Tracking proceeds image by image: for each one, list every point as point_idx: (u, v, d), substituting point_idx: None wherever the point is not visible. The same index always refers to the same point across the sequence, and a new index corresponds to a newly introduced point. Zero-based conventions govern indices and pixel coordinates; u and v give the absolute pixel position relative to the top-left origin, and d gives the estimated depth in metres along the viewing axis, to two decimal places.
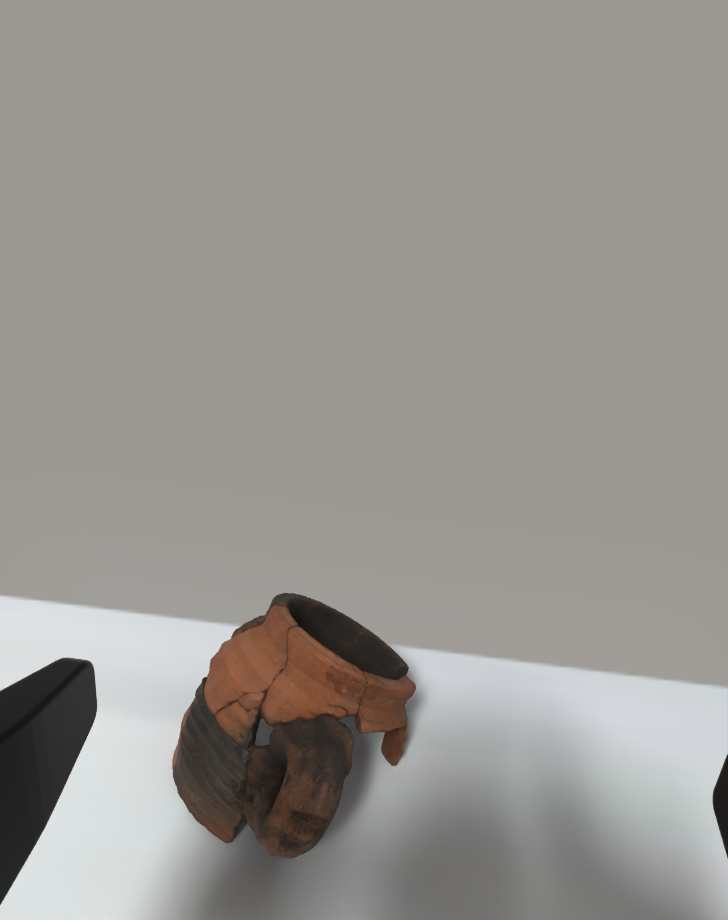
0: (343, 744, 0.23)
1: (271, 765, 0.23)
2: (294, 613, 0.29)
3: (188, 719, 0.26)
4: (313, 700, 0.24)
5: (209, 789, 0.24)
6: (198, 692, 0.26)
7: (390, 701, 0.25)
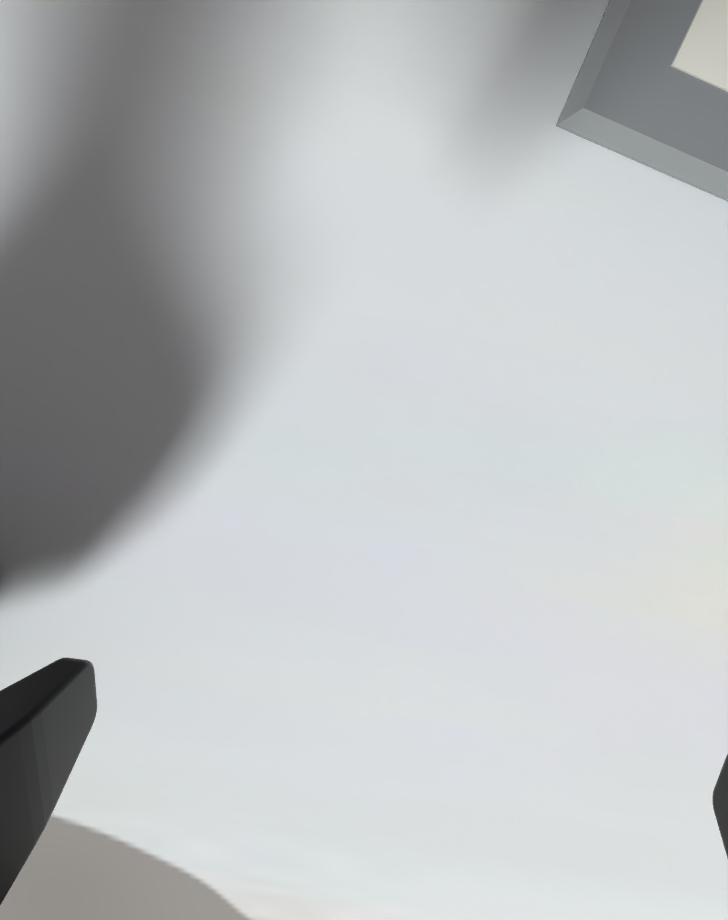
0: None
1: None
2: None
3: None
4: None
5: None
6: None
7: None
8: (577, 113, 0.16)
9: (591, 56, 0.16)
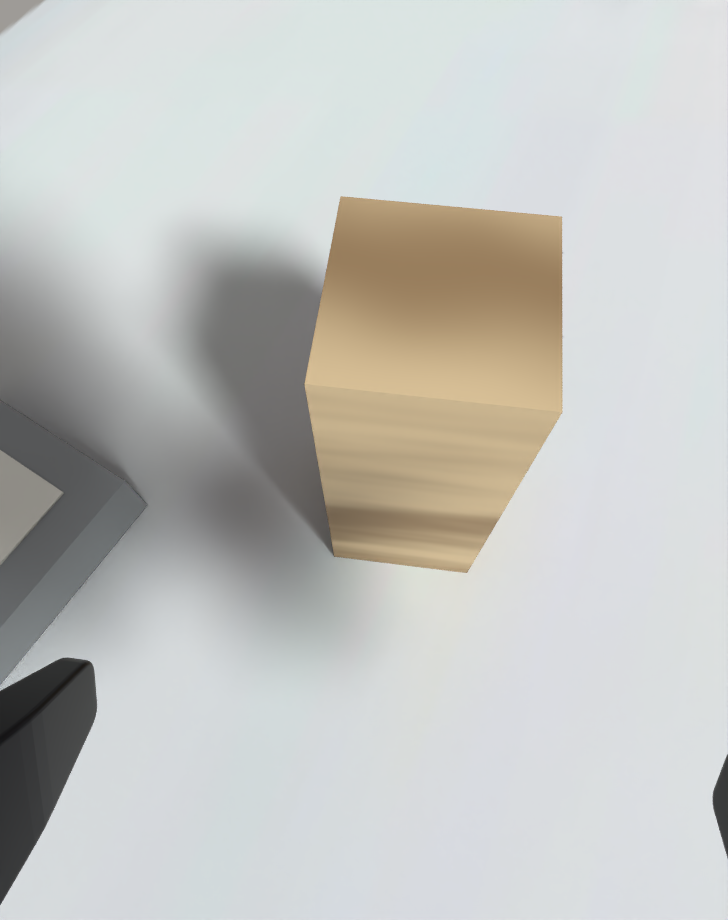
0: None
1: None
2: None
3: None
4: None
5: None
6: None
7: None
8: None
9: None
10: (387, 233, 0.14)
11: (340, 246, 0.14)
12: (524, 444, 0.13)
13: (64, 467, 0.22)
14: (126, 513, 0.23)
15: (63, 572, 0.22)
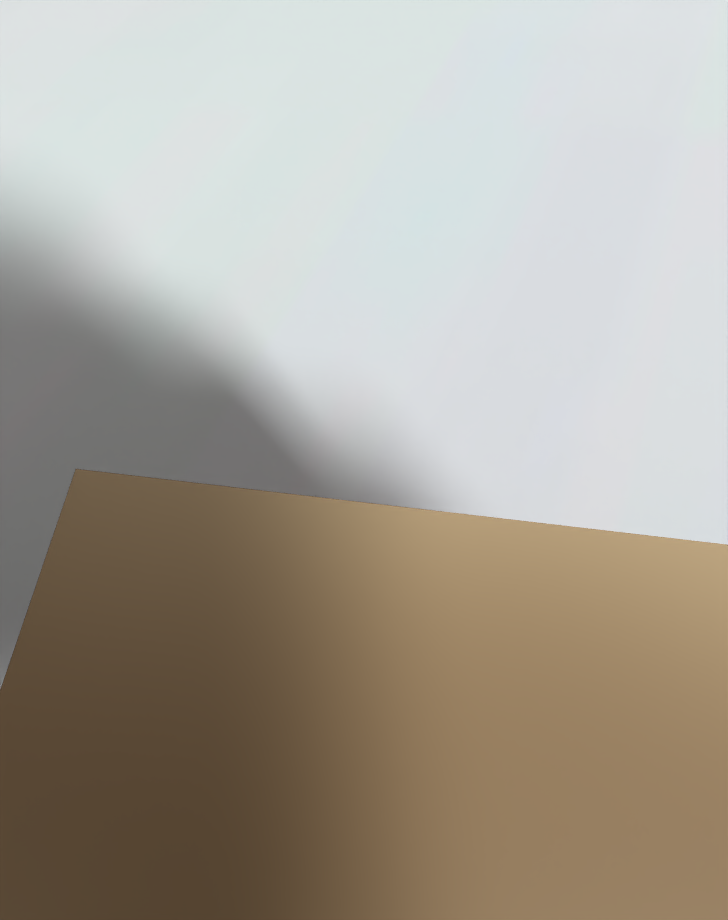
0: None
1: None
2: None
3: None
4: None
5: None
6: None
7: None
8: None
9: None
10: (222, 646, 0.04)
11: (27, 717, 0.03)
12: None
13: None
14: None
15: None
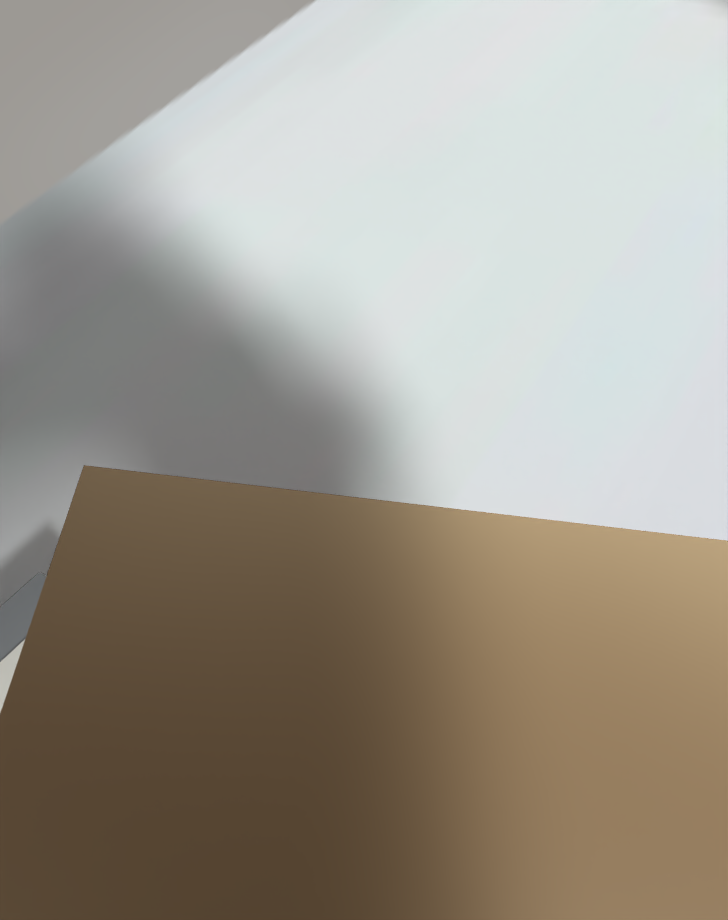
0: None
1: None
2: None
3: None
4: None
5: None
6: None
7: None
8: None
9: None
10: (231, 641, 0.04)
11: (37, 712, 0.03)
12: None
13: None
14: None
15: None
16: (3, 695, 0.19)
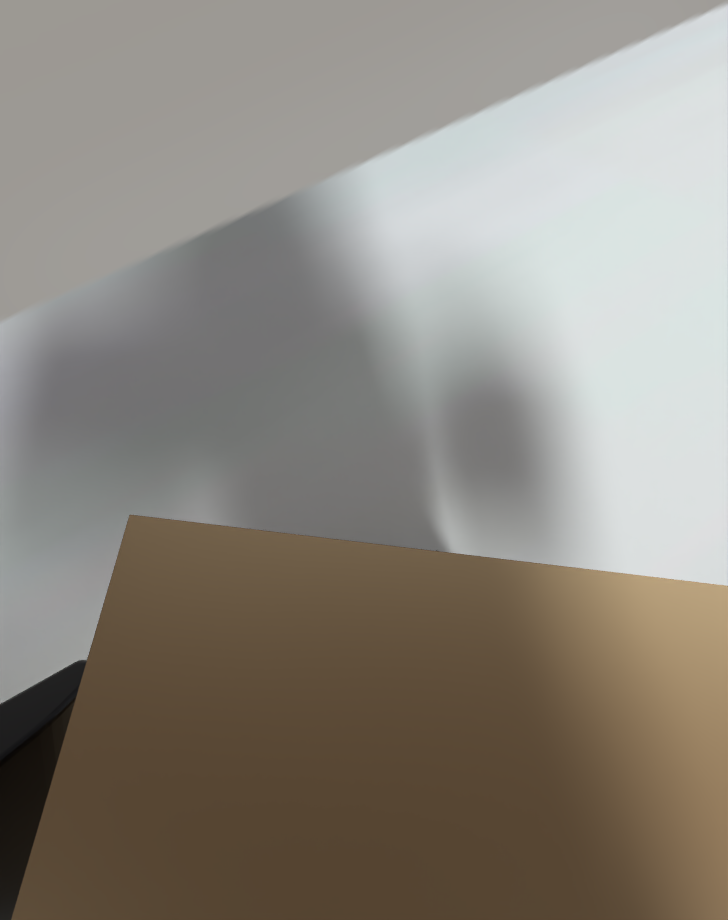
0: None
1: None
2: None
3: None
4: None
5: None
6: None
7: None
8: None
9: None
10: (253, 661, 0.04)
11: (99, 719, 0.04)
12: None
13: None
14: None
15: None
16: None
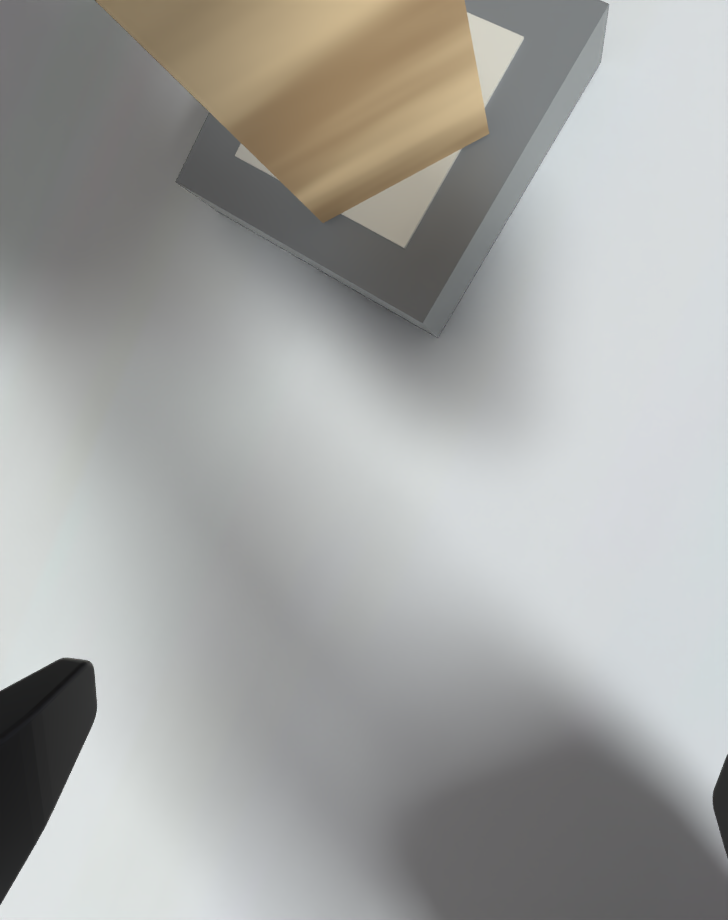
0: None
1: None
2: None
3: None
4: None
5: None
6: None
7: None
8: (427, 325, 0.18)
9: (389, 308, 0.19)
10: None
11: None
12: None
13: (515, 1, 0.16)
14: (587, 70, 0.17)
15: (529, 155, 0.17)
16: None
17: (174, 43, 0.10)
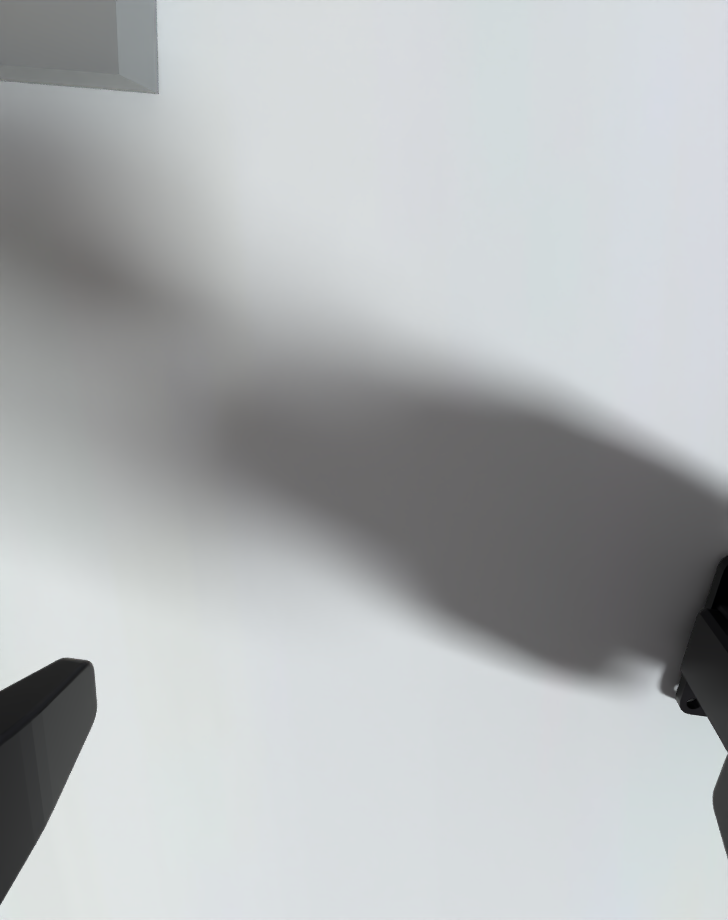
0: None
1: None
2: None
3: None
4: None
5: None
6: None
7: None
8: (129, 77, 0.16)
9: (92, 83, 0.17)
10: None
11: None
12: None
13: None
14: None
15: None
16: None
17: None
